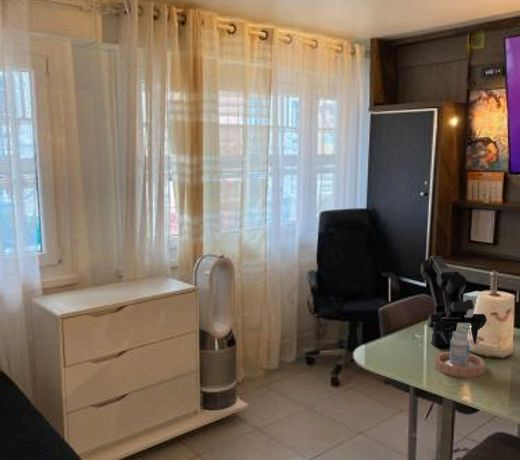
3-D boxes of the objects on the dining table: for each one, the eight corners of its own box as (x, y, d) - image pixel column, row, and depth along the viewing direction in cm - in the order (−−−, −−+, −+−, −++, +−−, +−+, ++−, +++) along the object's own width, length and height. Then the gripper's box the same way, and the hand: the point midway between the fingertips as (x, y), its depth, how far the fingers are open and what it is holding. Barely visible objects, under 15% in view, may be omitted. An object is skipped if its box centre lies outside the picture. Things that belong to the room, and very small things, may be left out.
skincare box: (475, 324, 229) (477, 290, 227) (487, 328, 224) (488, 293, 222) (461, 327, 226) (462, 293, 224) (472, 331, 220) (473, 296, 218)
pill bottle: (457, 359, 187) (458, 328, 186) (472, 365, 182) (473, 333, 181) (445, 363, 184) (447, 331, 182) (460, 369, 179) (462, 336, 177)
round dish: (466, 357, 192) (467, 349, 192) (494, 374, 177) (494, 366, 177) (426, 361, 189) (426, 353, 189) (450, 379, 174) (451, 371, 173)
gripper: (430, 290, 184) (437, 332, 175) (486, 291, 183) (496, 332, 173) (424, 306, 193) (431, 346, 184) (477, 306, 192) (487, 347, 182)
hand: (461, 343), depth 180 cm, fingers open, 9 cm apart
